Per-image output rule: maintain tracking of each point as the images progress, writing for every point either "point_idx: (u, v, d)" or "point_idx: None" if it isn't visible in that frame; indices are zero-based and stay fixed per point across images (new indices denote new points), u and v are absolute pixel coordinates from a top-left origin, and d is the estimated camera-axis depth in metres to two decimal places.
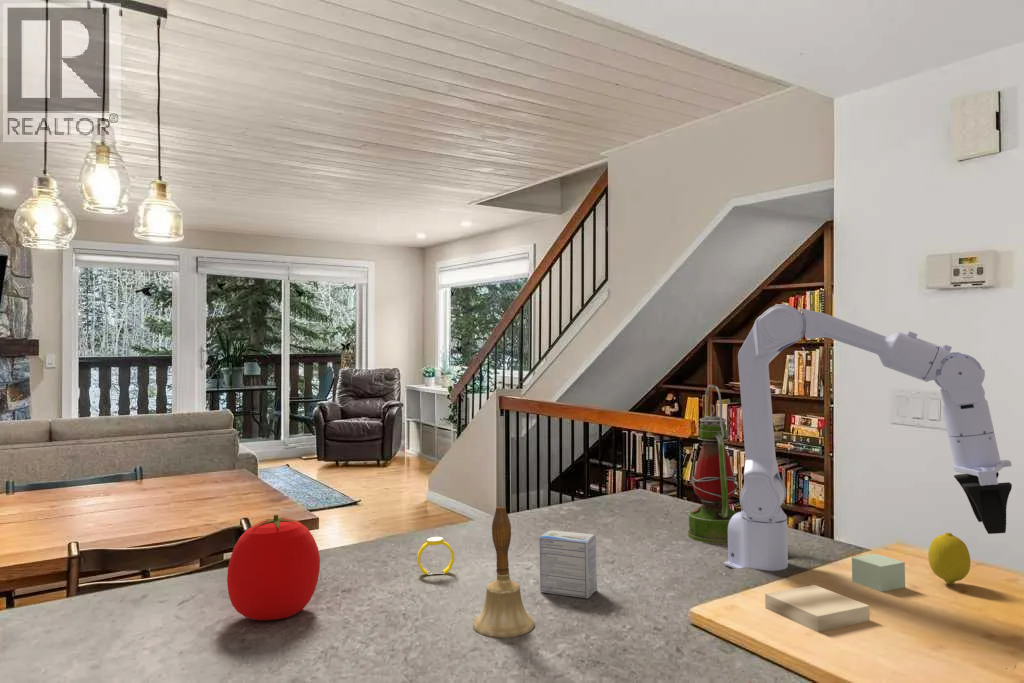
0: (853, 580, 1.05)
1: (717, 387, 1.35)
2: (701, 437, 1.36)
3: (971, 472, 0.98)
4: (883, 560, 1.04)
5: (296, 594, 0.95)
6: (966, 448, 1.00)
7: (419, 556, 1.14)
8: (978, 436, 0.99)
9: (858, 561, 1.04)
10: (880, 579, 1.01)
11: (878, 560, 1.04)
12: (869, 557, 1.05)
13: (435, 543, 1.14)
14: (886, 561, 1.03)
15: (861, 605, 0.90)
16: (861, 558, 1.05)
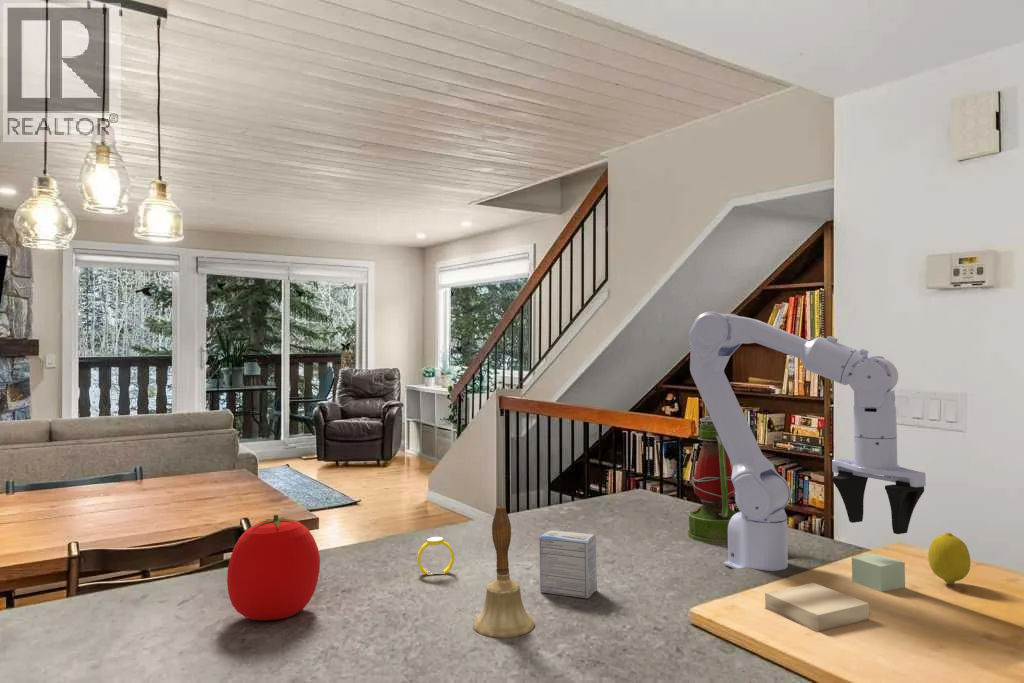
0: (853, 580, 1.05)
1: None
2: (701, 437, 1.36)
3: (897, 474, 0.99)
4: (883, 560, 1.04)
5: (296, 594, 0.95)
6: (884, 450, 1.01)
7: (419, 556, 1.14)
8: (894, 439, 1.02)
9: (858, 561, 1.04)
10: (880, 579, 1.01)
11: (878, 560, 1.04)
12: (869, 557, 1.05)
13: (435, 543, 1.14)
14: (886, 561, 1.03)
15: (861, 603, 0.90)
16: (861, 558, 1.05)
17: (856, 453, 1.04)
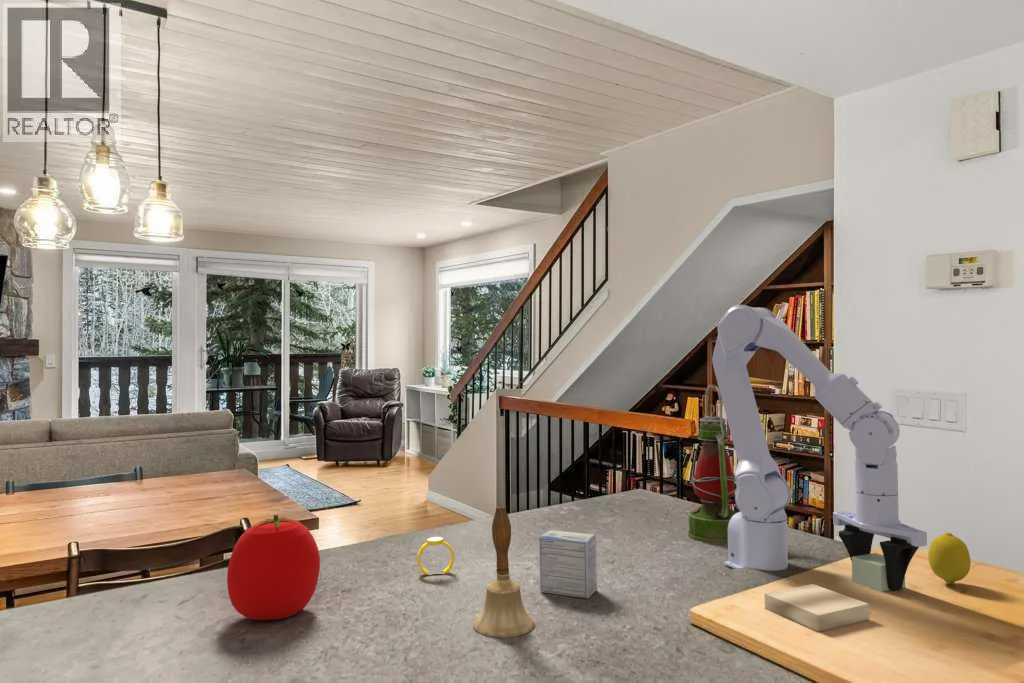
0: (853, 579, 1.05)
1: (717, 387, 1.35)
2: (701, 437, 1.36)
3: (898, 532, 0.99)
4: (883, 559, 1.04)
5: (296, 594, 0.95)
6: (885, 508, 1.01)
7: (419, 556, 1.14)
8: (895, 496, 1.02)
9: (858, 560, 1.04)
10: (880, 579, 1.01)
11: (878, 559, 1.04)
12: (869, 556, 1.05)
13: (435, 543, 1.14)
14: None
15: (861, 603, 0.90)
16: (861, 557, 1.05)
17: (857, 508, 1.04)
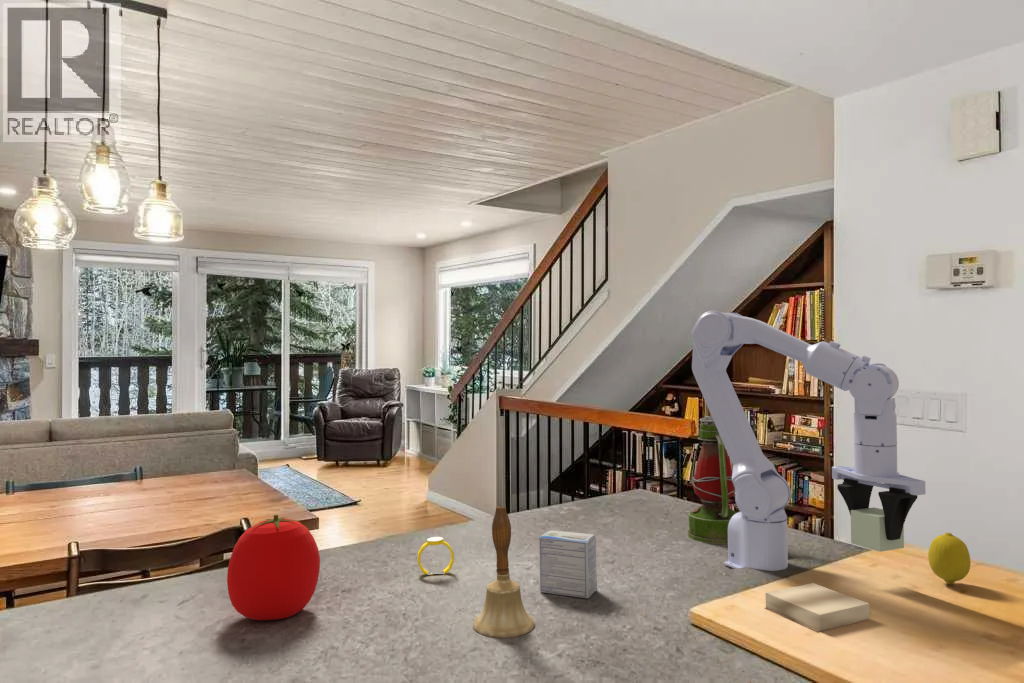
0: (852, 533, 1.05)
1: None
2: (701, 437, 1.36)
3: (897, 482, 0.99)
4: (882, 512, 1.04)
5: (296, 594, 0.95)
6: (884, 458, 1.01)
7: (419, 556, 1.14)
8: (894, 447, 1.02)
9: (857, 513, 1.04)
10: (878, 530, 1.01)
11: (877, 512, 1.04)
12: (868, 510, 1.05)
13: (435, 543, 1.14)
14: None
15: (861, 603, 0.90)
16: (859, 511, 1.05)
17: (856, 460, 1.04)
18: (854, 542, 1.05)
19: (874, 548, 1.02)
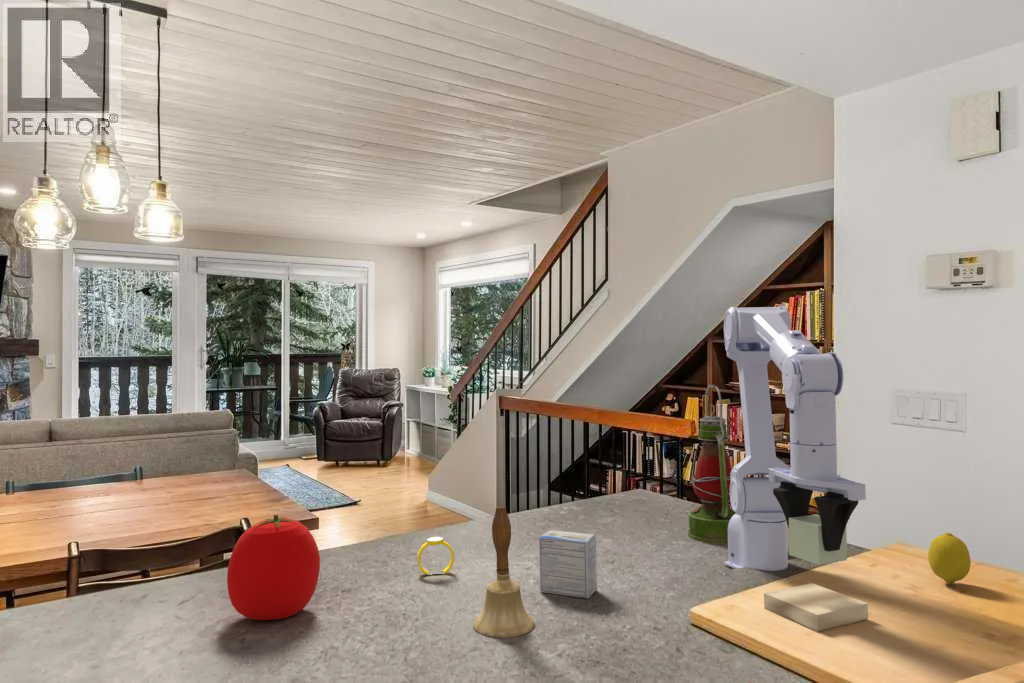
0: (790, 543, 0.94)
1: (717, 387, 1.35)
2: (701, 437, 1.36)
3: (834, 485, 0.88)
4: None
5: (296, 594, 0.95)
6: (821, 459, 0.90)
7: (419, 556, 1.14)
8: (832, 446, 0.90)
9: (795, 521, 0.93)
10: (817, 541, 0.90)
11: (817, 520, 0.92)
12: (808, 517, 0.94)
13: (435, 543, 1.14)
14: None
15: (860, 603, 0.90)
16: (798, 518, 0.93)
17: (792, 461, 0.93)
18: (793, 553, 0.93)
19: (813, 561, 0.90)
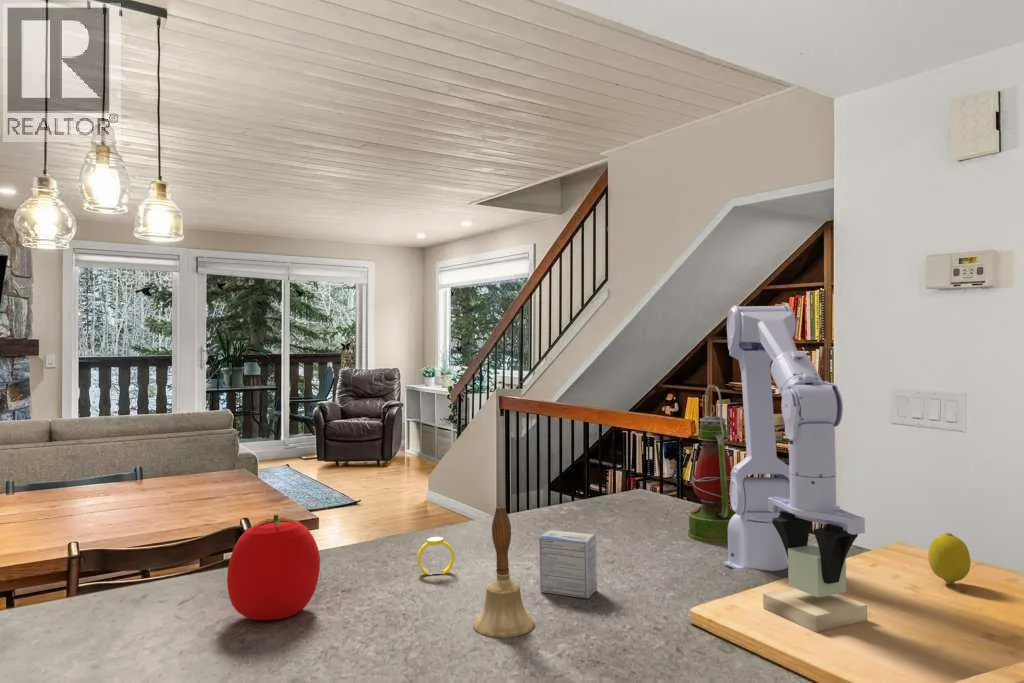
0: (789, 574, 0.94)
1: (717, 387, 1.35)
2: (701, 437, 1.36)
3: (834, 518, 0.87)
4: None
5: (296, 594, 0.95)
6: (820, 491, 0.90)
7: (419, 556, 1.14)
8: (832, 478, 0.90)
9: (794, 552, 0.93)
10: (816, 573, 0.89)
11: (816, 551, 0.92)
12: (807, 548, 0.94)
13: (435, 543, 1.14)
14: None
15: (859, 604, 0.90)
16: (798, 549, 0.93)
17: (791, 492, 0.93)
18: (792, 584, 0.93)
19: (812, 593, 0.90)
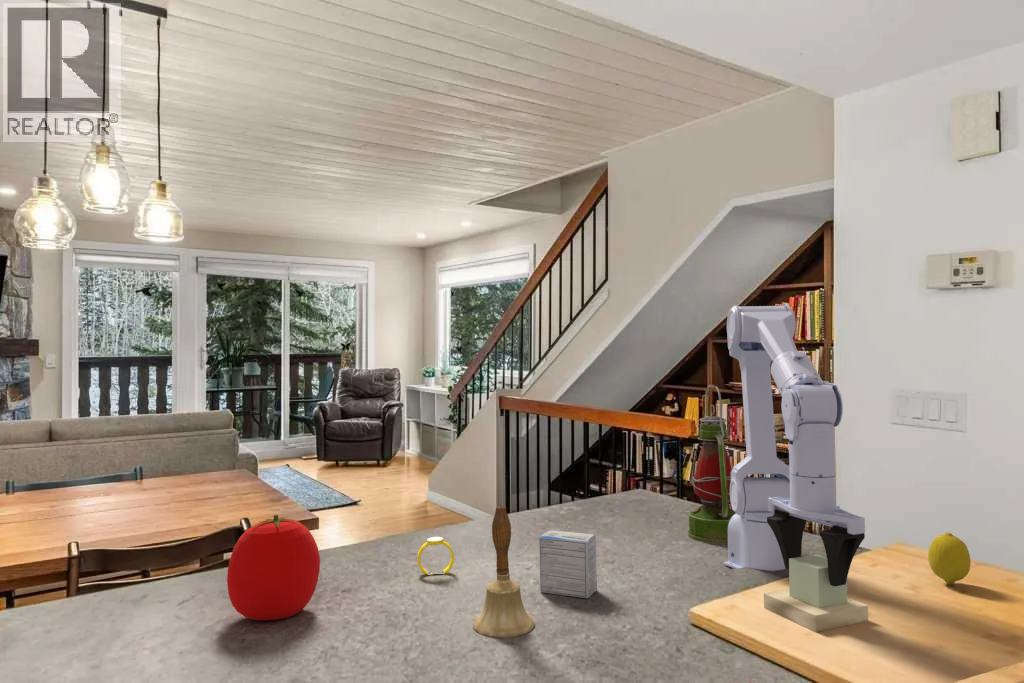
0: (790, 584, 0.93)
1: (717, 387, 1.35)
2: (701, 437, 1.36)
3: (834, 518, 0.87)
4: (823, 562, 0.92)
5: (296, 594, 0.95)
6: (820, 491, 0.90)
7: (419, 556, 1.14)
8: (832, 478, 0.90)
9: (795, 563, 0.92)
10: (817, 583, 0.89)
11: (817, 562, 0.92)
12: (808, 558, 0.93)
13: (435, 543, 1.14)
14: (826, 563, 0.91)
15: (860, 605, 0.90)
16: (799, 559, 0.93)
17: (791, 492, 0.93)
18: (793, 594, 0.93)
19: (813, 603, 0.90)
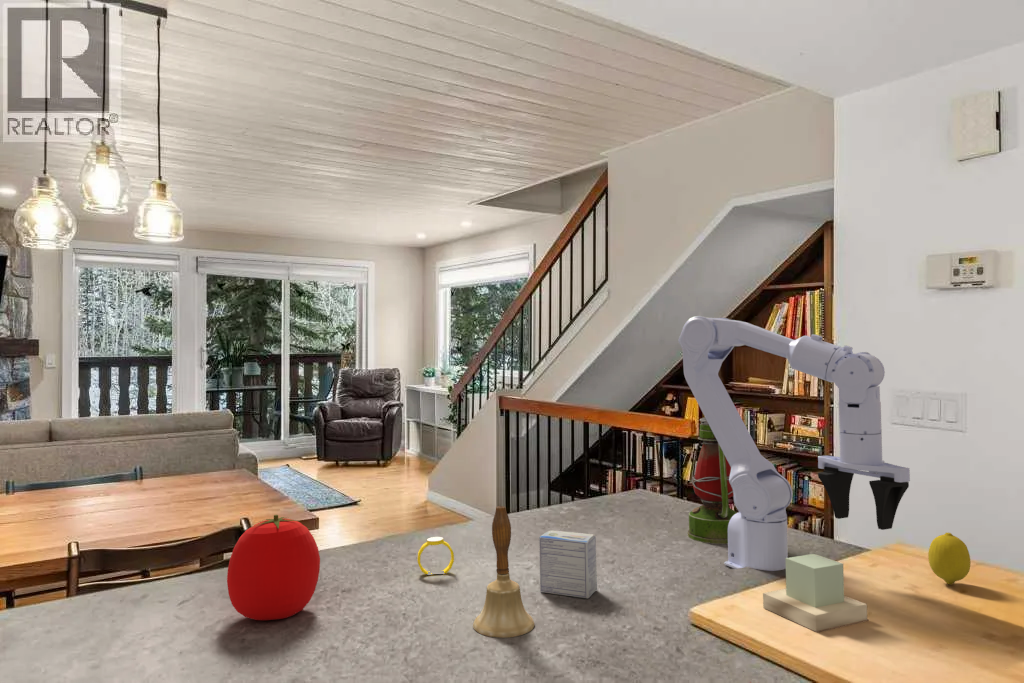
0: (787, 584, 0.93)
1: None
2: (701, 437, 1.36)
3: (882, 469, 0.99)
4: (820, 561, 0.92)
5: (296, 594, 0.95)
6: (869, 446, 1.01)
7: (419, 556, 1.14)
8: (878, 435, 1.02)
9: (792, 562, 0.93)
10: (813, 583, 0.89)
11: (814, 561, 0.92)
12: (805, 558, 0.94)
13: (435, 543, 1.14)
14: (823, 562, 0.91)
15: (859, 603, 0.90)
16: (795, 559, 0.93)
17: (841, 449, 1.04)
18: (790, 594, 0.93)
19: (809, 603, 0.90)
